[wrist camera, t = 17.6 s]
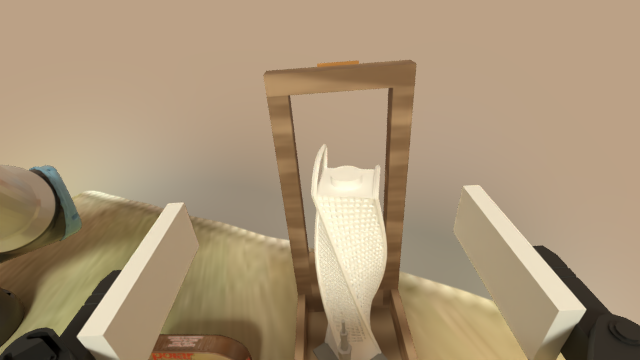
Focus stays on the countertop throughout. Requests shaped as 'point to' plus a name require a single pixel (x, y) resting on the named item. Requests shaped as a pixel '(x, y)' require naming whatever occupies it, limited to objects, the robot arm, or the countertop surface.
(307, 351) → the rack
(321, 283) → the skyscraper
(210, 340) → the tin
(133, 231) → the countertop surface
